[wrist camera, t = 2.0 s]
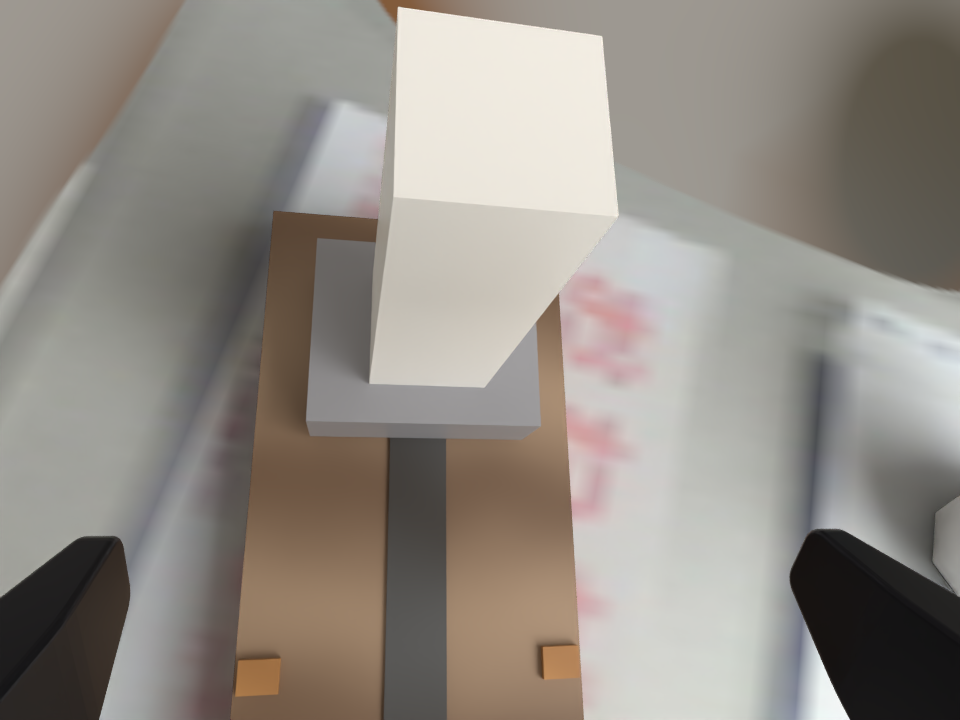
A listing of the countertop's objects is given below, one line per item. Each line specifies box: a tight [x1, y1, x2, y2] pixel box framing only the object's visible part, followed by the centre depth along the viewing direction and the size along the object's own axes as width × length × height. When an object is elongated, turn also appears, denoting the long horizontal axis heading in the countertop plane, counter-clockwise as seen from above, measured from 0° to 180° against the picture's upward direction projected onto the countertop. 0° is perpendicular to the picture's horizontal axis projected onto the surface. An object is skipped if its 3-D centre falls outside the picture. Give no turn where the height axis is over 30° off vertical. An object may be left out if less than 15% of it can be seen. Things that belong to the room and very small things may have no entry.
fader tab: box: [306, 7, 619, 440], centre depth 14 cm, size 5×6×11 cm
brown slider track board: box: [230, 211, 584, 720], centre depth 19 cm, size 18×9×2 cm, turn 1°
